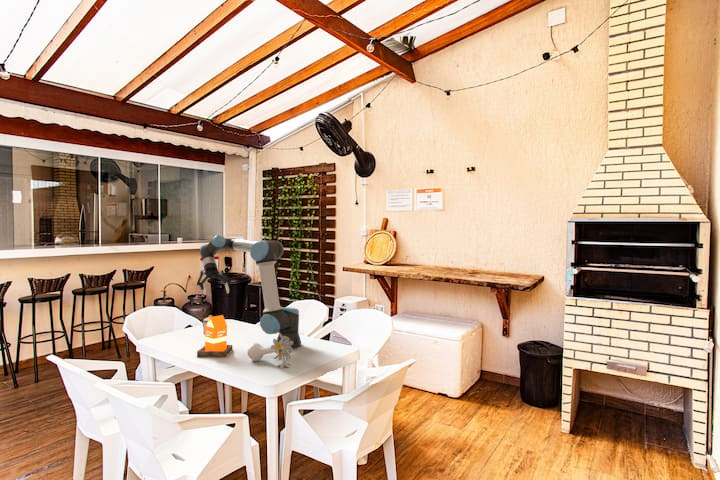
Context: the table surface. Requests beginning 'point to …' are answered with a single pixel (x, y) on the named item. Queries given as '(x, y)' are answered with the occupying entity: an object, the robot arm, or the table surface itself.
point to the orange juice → (216, 334)
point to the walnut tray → (214, 352)
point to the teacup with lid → (205, 323)
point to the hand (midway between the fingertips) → (216, 293)
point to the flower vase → (273, 350)
